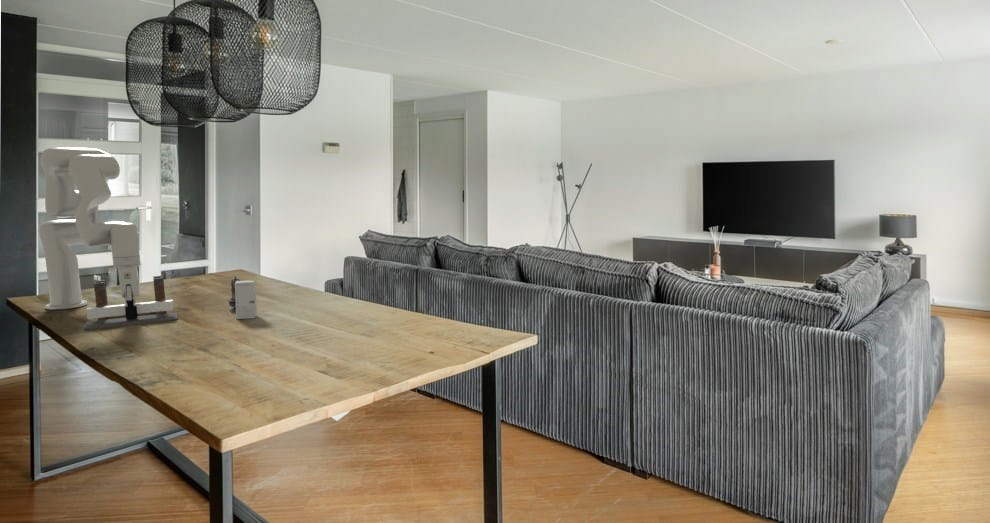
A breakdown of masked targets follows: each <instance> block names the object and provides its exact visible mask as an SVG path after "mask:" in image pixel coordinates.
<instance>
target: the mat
mask: <svg viewBox="0 0 990 523" xmlns="http://www.w3.org/2000/svg"><path fill="white" fill-rule="evenodd" d="M178 319H179V317H178V312H166V313H165V314H151V315H141V316H138V318H137V319H129V320H127V319H126V317H122V318H112V319H108V320H98V319H97V320H91V321H90V320H89V321H85V323H84V325H83V328H82V330H83V331H86V330H87V331H88V330H97V329H107V328H113V327H126V326H133V325H141V324H142V325H143V324H151V323H152V324H153V323H161V322H171V321H178Z"/></svg>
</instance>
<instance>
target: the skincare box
mask: <svg viewBox="0 0 990 523" xmlns="http://www.w3.org/2000/svg"><path fill="white" fill-rule="evenodd" d="M256 283H257V282H256V280H240V281H236V282H235V302H236V312H235V318H236V320H241V319H242V320H243V319H255V318H256V317H257V315H258V314H257V312H258V311H257V286H256Z"/></svg>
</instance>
